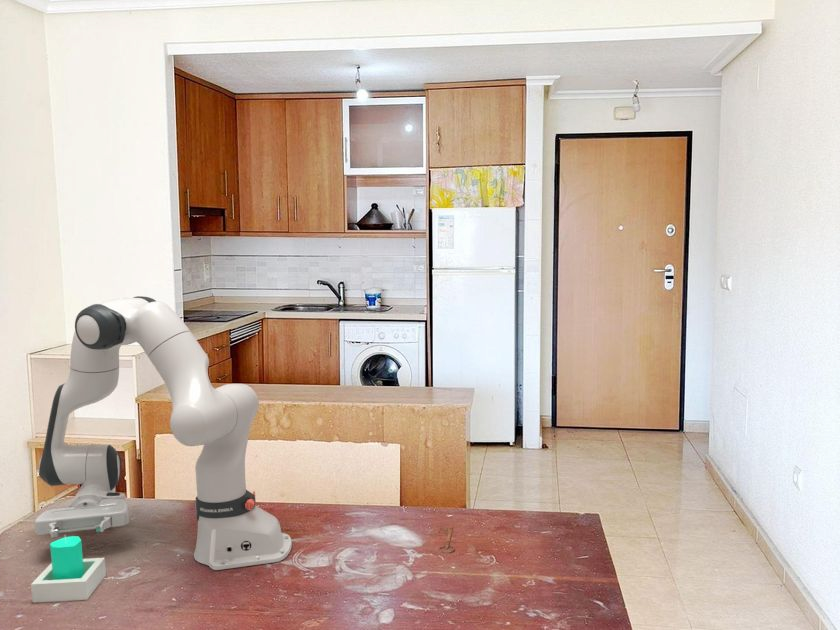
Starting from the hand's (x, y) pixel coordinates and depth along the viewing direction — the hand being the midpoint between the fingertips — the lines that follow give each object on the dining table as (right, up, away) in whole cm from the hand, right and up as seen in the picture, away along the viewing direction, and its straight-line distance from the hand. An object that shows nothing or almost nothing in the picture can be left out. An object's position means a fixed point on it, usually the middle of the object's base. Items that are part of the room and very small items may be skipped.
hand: (76, 531), depth 167 cm
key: (+84, -6, +11) cm, 84 cm away
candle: (+2, -10, -8) cm, 13 cm away
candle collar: (+3, -10, -9) cm, 13 cm away
